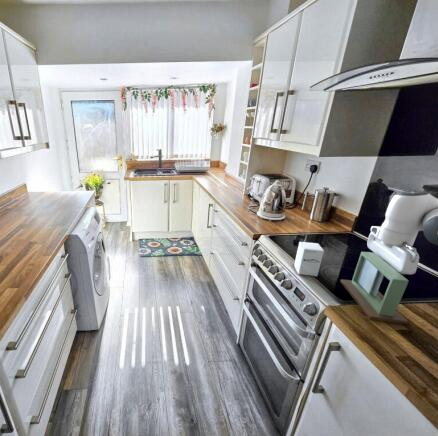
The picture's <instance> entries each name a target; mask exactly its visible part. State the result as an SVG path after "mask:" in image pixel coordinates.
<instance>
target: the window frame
mask: <svg viewBox="0 0 438 436" xmlns="http://www.w3.org/2000/svg"><path fill="white" fill-rule="evenodd" d="M378 271H380V272H381V273H382V274H383V275H384V278H386V279H387V280H388V281H389V283H388V285H387V287H386V290H385V293H384V295H383V294H382V293H381V292H380V291H379V290H378V292H377V295H376V296H374V295H373V294H372V292H371V290H372V287H373V284H374V282H375V279H376V276H377V273H378ZM339 282H340V284H341V285H342V286H343V287H344V288H345V290H346V291H347V292H348V294H349V295H350V296H351V297H352V298H353V300H354V301H355V302H356V304H357V305H358V307H360V309H361V310H362V311H363V313H364V314H365V315H366V316H367V318H368V319H369V320H374V321H381V322H387V323H396V324H402V325H408V323H409V320H407V318H405V316H404V315H403V314H402V313H401V312H399V310H398V307H399V305H400V303H401V300H402V298H403V295H404V293H405V291H406V289H407V286H408V283H409V280H408V278H406V277H405V276H404V275H403V274H401V273H399V272H397V271H396V270H395V269H394V268H392V267H391V266H390V265H389V264H388V263H387V262H385V261H384V260H383V259H381V258H380V257H379V256H378V255H376V254H375V253H374V252H373V251H372V252H370V251H361V252H360V254H359V258H358V261H357V264H356V267H355V270H354V273H353V275H352V280H350V279H342V278H341V279H340V280H339Z"/></svg>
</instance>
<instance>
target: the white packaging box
mask: <svg viewBox="0 0 438 436" xmlns="http://www.w3.org/2000/svg"><path fill="white" fill-rule="evenodd" d="M324 252H325V250H324V249H323V247H322V246H321V245H320V244H319V243H317V242H307V241H305V242H304V241H299V242H298V247H297V251H296V255H295V260H294V264H293V265H294V269H295V270H296V272H297V275H303V276H304V275H306V276H310V277H311V276H313V277H318V275H319V272H320V268H321V264H322V259H323V257H324Z"/></svg>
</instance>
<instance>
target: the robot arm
mask: <svg viewBox="0 0 438 436" xmlns="http://www.w3.org/2000/svg"><path fill="white" fill-rule="evenodd" d="M369 230H370V233H369V235H368V238H367V243H366V245H367V248H368V249H369V250H370V251H372V252H373V253H375V254H376V255H378V256H379V257H380V258H381V259H382V260H384V261H385V262H386V263H387V264H389V265H390V266H391V267H392V268H394V269H395V270H396V271H397V272H398V273H400V274H401V275H410V276H411V275H414V274H416V273H417V269H418V265H419V262H420V255H419V253H418V251H417V248H416V247H414V246H413V245H414V243H415V241H416V238H417V236H418V233H419V232H420V231H423V235H424V237H425V238H426V240H427V241H428V242H429V243H431V244H433V245H435V246H438V198H437V197H435V196H434V195H432V194H431V193H430V192H428V191H424V190H416V189H415V190H404V191H399V192H397V193H395V195H393V197H392V198H391V200H390V202H389V204H388V207H387V208H386V211H385V219H384V221H383V222H382V224H381V226H380V225H379V226H377V225H375V226H374V225H372V226H371V227H370V229H369Z"/></svg>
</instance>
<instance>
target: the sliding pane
mask: <svg viewBox="0 0 438 436" xmlns="http://www.w3.org/2000/svg"><path fill="white" fill-rule="evenodd" d="M384 278H385V276H384V275H383V274H382V273H381V272H380V271H378V273H377V276H376V279H375V282H374V284H373V287H372V290H371V292H372V294H373V295H374V296H376V295H377V292H378V291H379V289H380V286H381V284H382V283H383V280H384Z"/></svg>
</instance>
